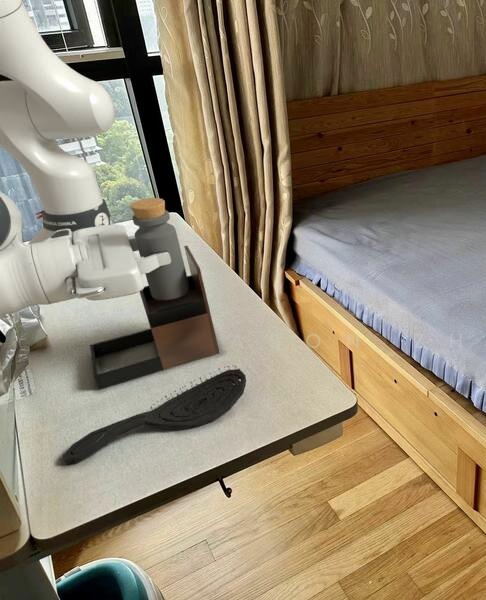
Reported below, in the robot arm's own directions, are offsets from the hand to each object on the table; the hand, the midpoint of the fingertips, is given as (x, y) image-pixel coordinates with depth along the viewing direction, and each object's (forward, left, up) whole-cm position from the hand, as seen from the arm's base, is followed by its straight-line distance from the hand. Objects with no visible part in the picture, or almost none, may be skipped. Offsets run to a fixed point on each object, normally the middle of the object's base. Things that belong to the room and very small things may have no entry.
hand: (165, 247), depth 84 cm
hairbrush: (+7, -18, -19) cm, 27 cm away
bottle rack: (-4, -4, -18) cm, 19 cm away
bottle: (-1, -1, -8) cm, 8 cm away
